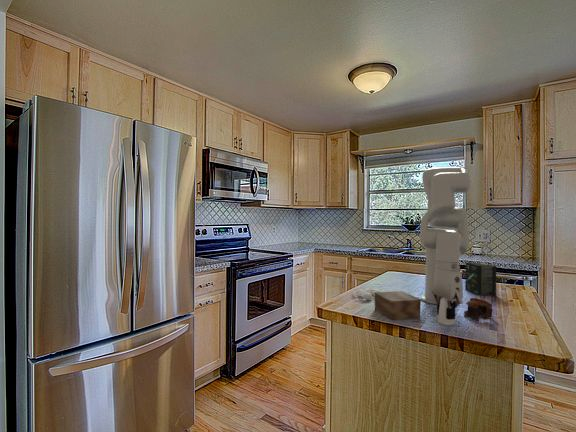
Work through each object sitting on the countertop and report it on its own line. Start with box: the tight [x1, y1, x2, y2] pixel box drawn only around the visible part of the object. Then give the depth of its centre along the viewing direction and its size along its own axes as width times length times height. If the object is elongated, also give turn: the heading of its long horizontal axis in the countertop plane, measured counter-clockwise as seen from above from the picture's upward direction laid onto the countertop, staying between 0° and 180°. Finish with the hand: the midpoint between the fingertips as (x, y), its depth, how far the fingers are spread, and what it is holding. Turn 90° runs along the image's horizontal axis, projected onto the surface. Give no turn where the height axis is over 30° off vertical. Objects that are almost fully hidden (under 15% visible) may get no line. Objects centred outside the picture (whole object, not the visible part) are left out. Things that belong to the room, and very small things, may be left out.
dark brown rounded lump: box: [463, 297, 493, 322], centre depth 116 cm, size 12×10×8 cm
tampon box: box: [464, 261, 497, 296], centre depth 155 cm, size 11×9×15 cm
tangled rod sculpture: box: [352, 287, 382, 301], centre depth 144 cm, size 19×14×4 cm
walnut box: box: [374, 290, 422, 321], centre depth 119 cm, size 12×12×7 cm
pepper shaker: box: [437, 297, 455, 326], centre depth 110 cm, size 5×5×11 cm
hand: (445, 316), depth 110 cm, fingers closed on pepper shaker, 3 cm apart
